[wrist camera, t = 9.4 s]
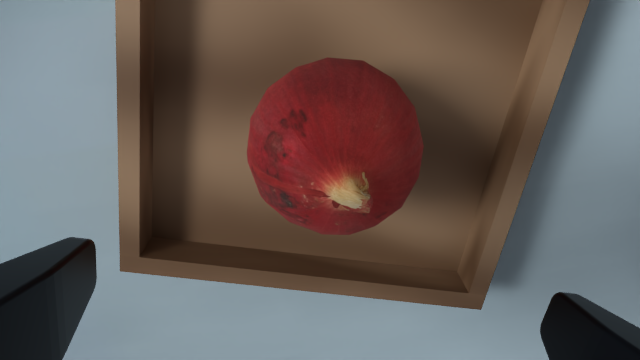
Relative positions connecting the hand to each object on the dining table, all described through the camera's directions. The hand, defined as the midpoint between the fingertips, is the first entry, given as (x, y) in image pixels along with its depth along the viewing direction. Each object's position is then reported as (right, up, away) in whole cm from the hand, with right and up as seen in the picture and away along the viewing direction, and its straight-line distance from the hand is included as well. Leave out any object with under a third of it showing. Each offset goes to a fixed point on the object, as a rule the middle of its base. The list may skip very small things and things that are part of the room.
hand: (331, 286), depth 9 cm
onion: (0, +5, +10) cm, 11 cm away
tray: (0, +5, +11) cm, 12 cm away
